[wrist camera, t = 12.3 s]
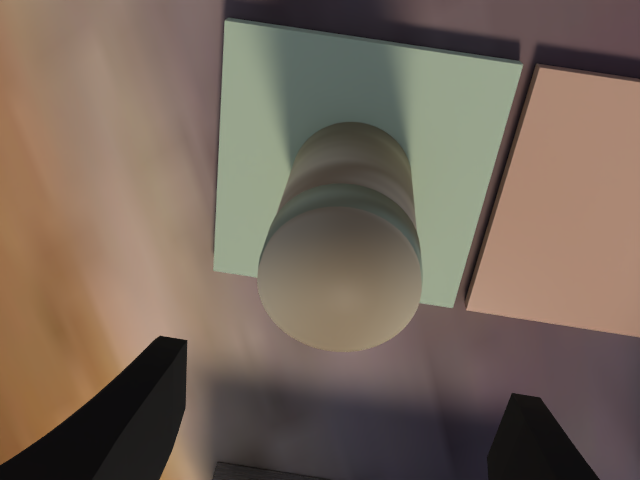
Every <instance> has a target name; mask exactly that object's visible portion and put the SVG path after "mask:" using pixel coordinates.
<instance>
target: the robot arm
mask: <svg viewBox="0 0 640 480" xmlns="http://www.w3.org/2000/svg"><path fill="white" fill-rule="evenodd" d="M186 367H187V340H182V339H176V338H170V337H164V336H159V337H158V338H156V339H155V340H154V341H153V342H152V343H151V344H150V345H149V346H148V347H147V348H146V349H145V350H144V351H143V352H142V353H141V354H140V355H139V356H138V357H137V358H136V359H135V360H134V361H133V362H132V363H131V364H130V365H129V366H127V367H126V368H125V369H124V370H123V371H122V372H121V373H120V374H119V375H118V376H117V377H116V378H115V379H113V380H112V381H111V382H110V383H109V384H108V385H107V386H106V387H104V388H103V389H102V390H101V391H100V392H99V393H98V394H97V395H95V396H94V397H93V398H92V399H91V400H90V401H88V402H87V403H86V404H85V405H84V406H82V407H81V408H80V409H79V410H77V411H76V412H75V413H74V414H72V415H71V416H70V417H69V418H67V419H66V420H65V421H64V422H62V423H61V424H60V425H58V426H57V427H56V428H54V429H53V430H52V431H50V432H49V433H48V434H46V435H45V436H44V437H42V438H41V439H39V440H38V441H37V442H35V443H34V444H32V445H31V446H29V447H28V448H26V449H25V450H23V451H22V452H20V453H19V454H17V455H16V456H14V457H13V458H11V459H10V460H8V461H6V462H5V463H3V464H2V465H0V480H159V479H160V477H161V475H162V472H163V470H164V468H165V466H166V463H167V461H168V459H169V456H170V454H171V452H172V449H173V446H174V443H175V440H176V437H177V434H178V431H179V427H180V424H181V421H182V417H183V414H184V411H185V405H186ZM487 463H488V479H489V480H600V479H599V478H598V477H597V475H596V474H595V473H594V471H593V470H592V469H591V467H590V466H589V465H588V463H587V462H586V461H585V459H584V458H583V457H582V455H581V454H580V453H579V451H578V450H577V449H576V447H575V446H574V444H573V443H572V442H571V440H570V439H569V438H568V436H567V435H566V433H565V432H564V431H563V429H562V428H561V426H560V425H559V424H558V422H557V421H556V419H555V418H554V416H553V415H552V414H551V412H550V411H549V409H548V408H547V407H546V405H545V404H544V403H543V401H542V400H541V398H540V397H533V396H527V395H521V394H515V393H512V394H511V397H510V400H509V402H508V405H507V407H506V410H505V412H504V415H503V418H502V420H501V423H500V425H499V428H498V431H497V433H496V436H495V438H494V441H493V444H492V446H491V449H490V451H489V454H488V457H487Z"/></svg>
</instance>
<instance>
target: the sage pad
mask: <svg viewBox="0 0 640 480" xmlns="http://www.w3.org/2000/svg"><path fill="white" fill-rule="evenodd" d="M522 67H523V64H522V63H521V62H520V61H517V60H510V59H503V58H496V57H490V56H483V55H476V54H470V53H463V52H456V51H449V50H443V49H436V48H429V47H423V46H416V45H409V44H402V43H396V42H389V41H382V40H376V39H369V38H362V37H356V36H349V35H342V34H335V33H329V32H322V31H315V30H309V29H302V28H295V27H288V26H282V25H275V24H268V23H262V22H255V21H248V20H241V19H235V18H227V19H226V20H225V25H224V47H223V69H222V91H221V113H220V135H219V157H218V179H217V201H216V224H215V246H214V268H213V271H218V272H225V273H231V274H238V275H244V276H250V277H257V274H258V265H259V259H260V255H261V252H262V249H263V246H264V243H265V240H266V237H267V234H268V231H269V229H270V226H271V224H272V222H273V220H274V218H275V216H276V214H277V211H278V208H279V205H280V202H281V199H282V196H283V193H284V190H285V187H286V184H287V181H288V178H289V175H290V173H291V170H292V167H293V164H294V161H295V158H296V155H297V153H298V151H299V149H300V148H301V147H302V145H303V144H304V143H305V142H306V140H307V139H308V138H309V137H311V136H312V135H313V134H314V133H316V132H317V131H319V130H321V129H322V128H325V127H327V126H329V125H333V124H336V123H342V122H361V123H365V124H370V125H372V126H375V127H377V128H379V129H381V130H383V131H385V132H386V133H388V134H389V135H391V136H392V137H393V138H394V139H395V140H396V141H397V142H398V143H399V144H400V146H401V147H402V148H403V150H404V152H405V153H406V156H407V158H408V160H409V164H410V167H411V174H412V185H413V195H414V206H415V217H416V227H417V234H418V237H419V242H420V249H421V259H422V269H423V284H422V292H421V298H420V302H419V303H424V304H430V305H436V306H443V307H449V308H453V306H454V302H455V299H456V295H457V292H458V288H459V285H460V281H461V278H462V274H463V271H464V268H465V264H466V261H467V257H468V254H469V250H470V247H471V243H472V240H473V236H474V233H475V230H476V226H477V223H478V219H479V216H480V212H481V209H482V205H483V202H484V198H485V195H486V192H487V188H488V185H489V181H490V178H491V174H492V171H493V167H494V164H495V160H496V157H497V154H498V150H499V147H500V143H501V140H502V136H503V133H504V129H505V126H506V122H507V119H508V116H509V112H510V109H511V105H512V102H513V98H514V95H515V91H516V88H517V84H518V81H519V78H520V74H521V71H522Z"/></svg>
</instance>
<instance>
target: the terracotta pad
mask: <svg viewBox="0 0 640 480" xmlns="http://www.w3.org/2000/svg"><path fill="white" fill-rule="evenodd" d="M465 307H466V310H468V311H475V312H481V313H488V314H494V315H500V316H507V317H513V318H520V319H526V320H533V321H539V322H545V323H552V324H558V325H565V326H571V327H577V328H584V329H590V330H597V331H603V332H609V333H616V334H622V335H629V336H635V337H640V79H637V78H631V77H624V76H617V75H611V74H604V73H597V72H590V71H584V70H577V69H570V68H564V67H557V66H550V65H543V64H537V63H536V66H535V69H534V73H533V76H532V79H531V83H530V86H529V89H528V93H527V96H526V99H525V103H524V106H523V109H522V113H521V116H520V119H519V123H518V126H517V129H516V133H515V136H514V139H513V143H512V146H511V149H510V153H509V156H508V159H507V163H506V166H505V169H504V173H503V176H502V179H501V183H500V186H499V189H498V193H497V196H496V199H495V203H494V206H493V209H492V213H491V216H490V219H489V223H488V226H487V229H486V233H485V236H484V239H483V243H482V246H481V249H480V253H479V256H478V259H477V263H476V266H475V269H474V273H473V276H472V279H471V283H470V286H469V289H468V293H467V296H466V299H465Z"/></svg>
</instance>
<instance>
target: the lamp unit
mask: <svg viewBox="0 0 640 480" xmlns="http://www.w3.org/2000/svg"><path fill="white" fill-rule="evenodd" d="M212 480H326V479H320V478H314V477H308V476H301V475H295V474H289V473H283V472H277V471H270V470H264V469H258V468H252V467H246V466H239V465H233V464H227V463H221V462H217V466H216V469H215V473H214V476H213V479H212Z"/></svg>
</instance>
